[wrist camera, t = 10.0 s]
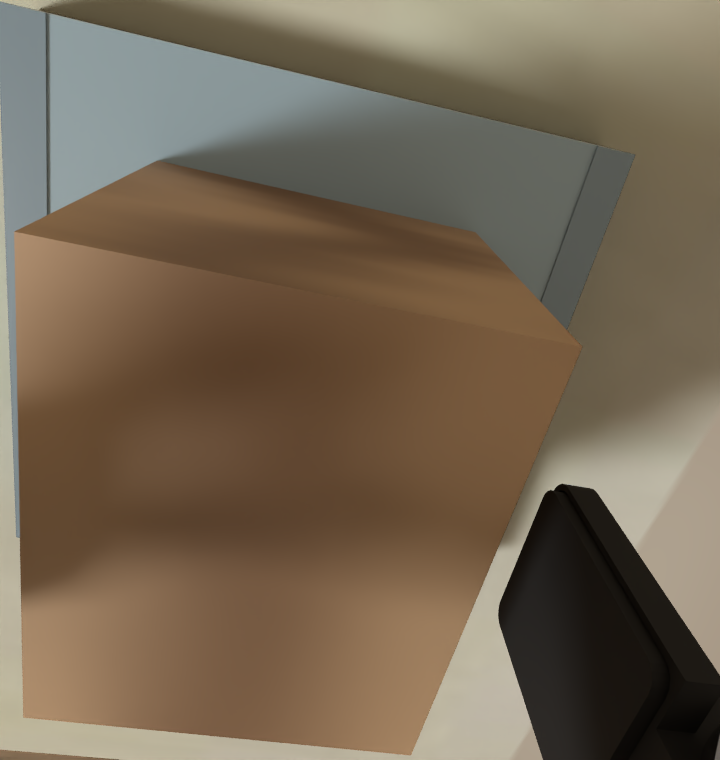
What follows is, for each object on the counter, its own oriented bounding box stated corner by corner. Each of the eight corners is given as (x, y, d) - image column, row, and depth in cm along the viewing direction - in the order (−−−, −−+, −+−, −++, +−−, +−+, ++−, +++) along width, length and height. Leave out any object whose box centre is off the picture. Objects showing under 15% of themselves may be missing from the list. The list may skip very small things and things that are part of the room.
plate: (453, 556, 19) (462, 594, 17) (41, 499, 17) (16, 537, 16) (603, 146, 14) (635, 154, 12) (35, 9, 12) (-4, 0, 10)
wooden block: (475, 232, 13) (582, 346, 7) (383, 529, 16) (410, 755, 11) (157, 160, 12) (14, 231, 6) (131, 491, 15) (23, 717, 10)
